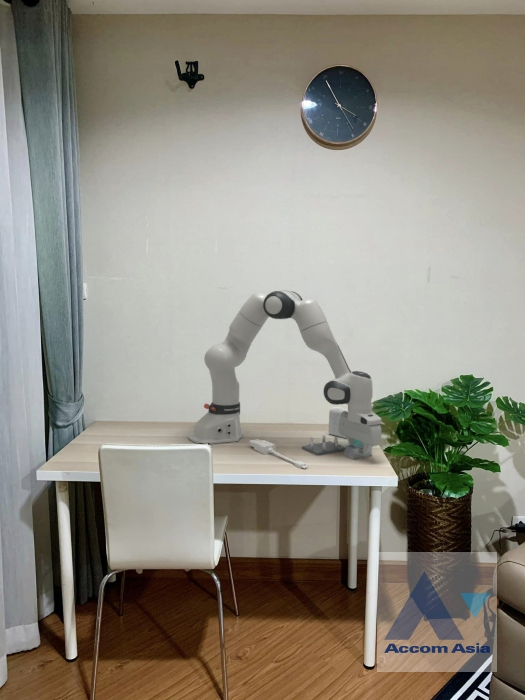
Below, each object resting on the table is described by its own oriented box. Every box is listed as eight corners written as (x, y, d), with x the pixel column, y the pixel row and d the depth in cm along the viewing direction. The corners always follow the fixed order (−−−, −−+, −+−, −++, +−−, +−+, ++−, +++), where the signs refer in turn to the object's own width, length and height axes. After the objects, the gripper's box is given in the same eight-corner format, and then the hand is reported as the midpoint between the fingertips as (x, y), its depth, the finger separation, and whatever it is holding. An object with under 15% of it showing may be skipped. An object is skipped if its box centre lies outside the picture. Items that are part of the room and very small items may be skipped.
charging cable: (300, 473, 211) (300, 464, 210) (248, 447, 237) (248, 438, 236) (311, 471, 214) (311, 461, 213) (258, 445, 240) (258, 436, 239)
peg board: (317, 455, 228) (317, 445, 227) (301, 448, 236) (301, 438, 235) (346, 450, 235) (346, 439, 234) (329, 443, 243) (330, 433, 243)
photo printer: (352, 437, 253) (354, 408, 252) (346, 439, 250) (347, 409, 248) (332, 432, 260) (333, 404, 258) (326, 434, 257) (327, 405, 255)
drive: (353, 459, 223) (353, 448, 223) (344, 456, 227) (344, 445, 227) (371, 456, 228) (372, 445, 228) (362, 452, 232) (362, 442, 232)
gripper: (335, 410, 233) (334, 445, 235) (371, 422, 216) (370, 459, 217) (347, 408, 236) (346, 443, 238) (384, 420, 219) (383, 457, 221)
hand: (358, 451), depth 228 cm, fingers closed on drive, 5 cm apart
